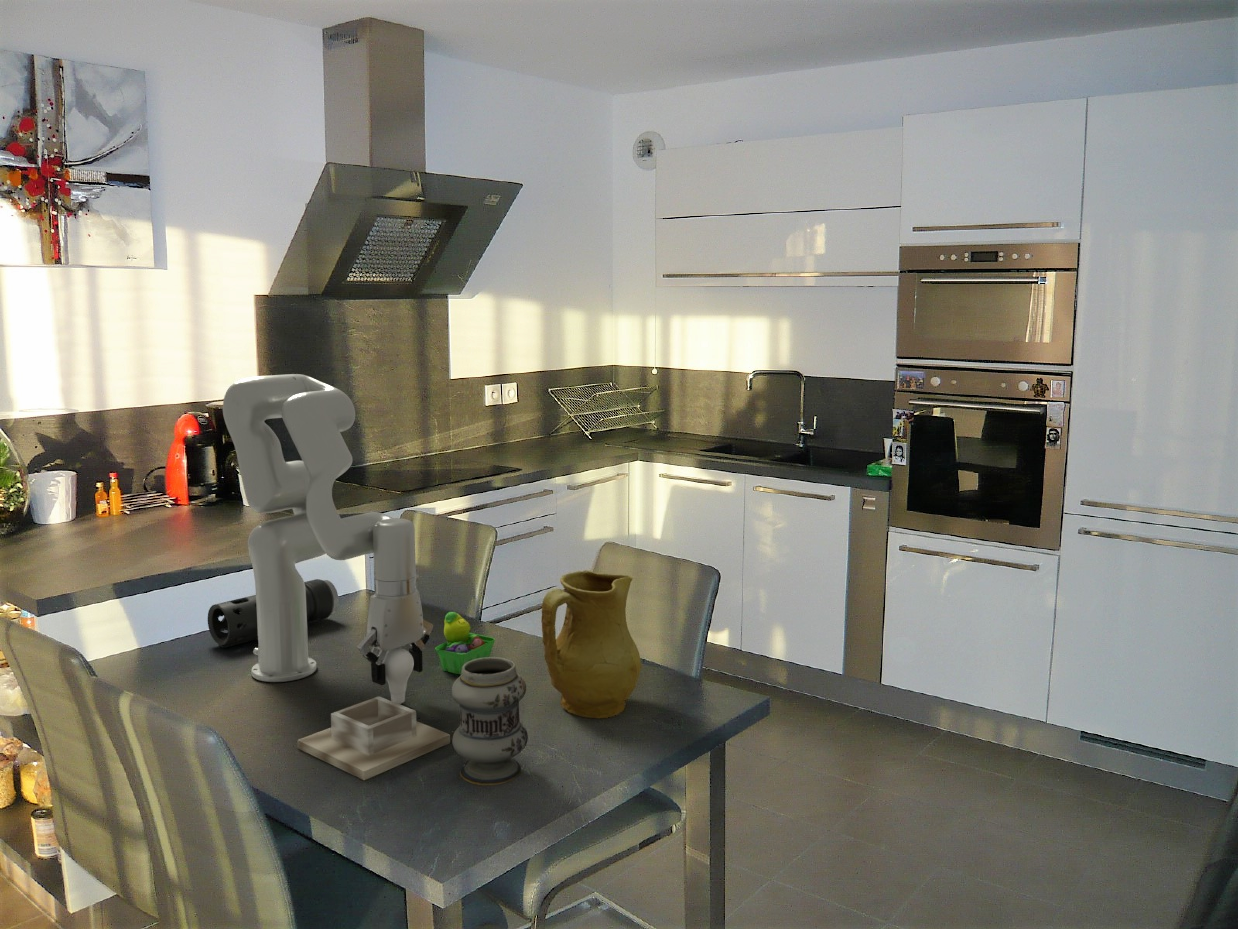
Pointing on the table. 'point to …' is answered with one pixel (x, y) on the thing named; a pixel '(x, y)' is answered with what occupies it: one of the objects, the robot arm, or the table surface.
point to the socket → (373, 738)
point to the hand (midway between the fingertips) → (397, 676)
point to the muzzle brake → (244, 613)
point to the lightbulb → (398, 672)
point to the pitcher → (591, 644)
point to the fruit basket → (461, 644)
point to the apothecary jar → (489, 720)
